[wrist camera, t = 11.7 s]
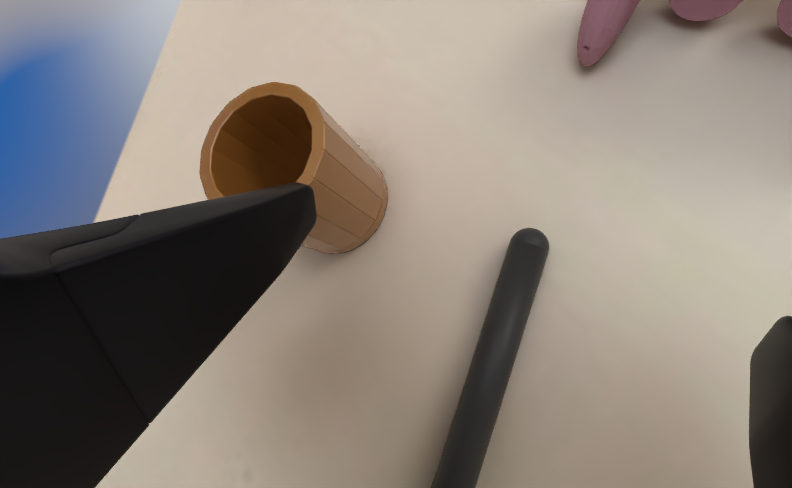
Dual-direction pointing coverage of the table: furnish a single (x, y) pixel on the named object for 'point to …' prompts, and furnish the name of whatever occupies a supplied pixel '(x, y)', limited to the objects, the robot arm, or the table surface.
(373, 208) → the brown wooden cup
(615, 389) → the table surface
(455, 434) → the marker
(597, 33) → the video game controller
